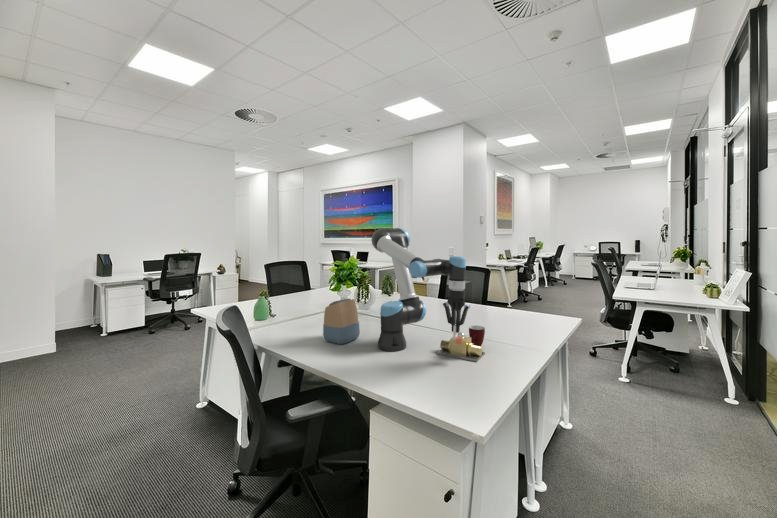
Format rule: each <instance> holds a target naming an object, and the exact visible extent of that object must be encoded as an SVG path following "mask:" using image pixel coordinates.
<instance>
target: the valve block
mask: <svg viewBox="0 0 777 518" xmlns="http://www.w3.org/2000/svg"><path fill="white" fill-rule="evenodd" d="M439 346H440V347H439V348H440V349H439V350H438V351H437V352H436V354H437V355H439V356H445V357H451V358H456V359H461V360H465V361H471V362H475V363H478V362H479V361H480V359H482V358H483V357H484V355H486V352H485V351H483V346H482V345H481V346H475V345H474V344H473V343H471V337H470V336H465V335H464V339H462V344H456V340H454V339H453V336H452V337H451V338H450V339H449V340H445V339H442V340H441V341H440V345H439Z"/></svg>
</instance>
